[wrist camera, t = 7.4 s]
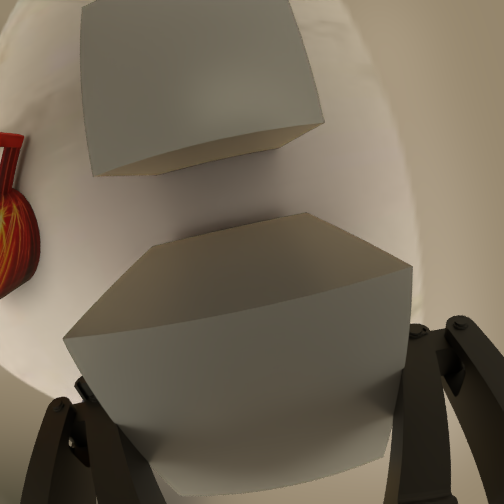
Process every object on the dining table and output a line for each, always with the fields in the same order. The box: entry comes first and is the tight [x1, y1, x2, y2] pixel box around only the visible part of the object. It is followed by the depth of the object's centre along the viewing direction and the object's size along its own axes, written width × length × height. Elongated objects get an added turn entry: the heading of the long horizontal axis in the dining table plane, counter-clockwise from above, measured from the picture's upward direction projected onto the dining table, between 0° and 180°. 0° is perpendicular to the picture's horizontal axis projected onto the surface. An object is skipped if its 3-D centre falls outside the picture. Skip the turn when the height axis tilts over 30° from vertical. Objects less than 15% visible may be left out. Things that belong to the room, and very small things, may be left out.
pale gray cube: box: [80, 0, 325, 177], centre depth 13 cm, size 9×9×10 cm
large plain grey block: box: [63, 213, 413, 496], centre depth 12 cm, size 9×9×10 cm
